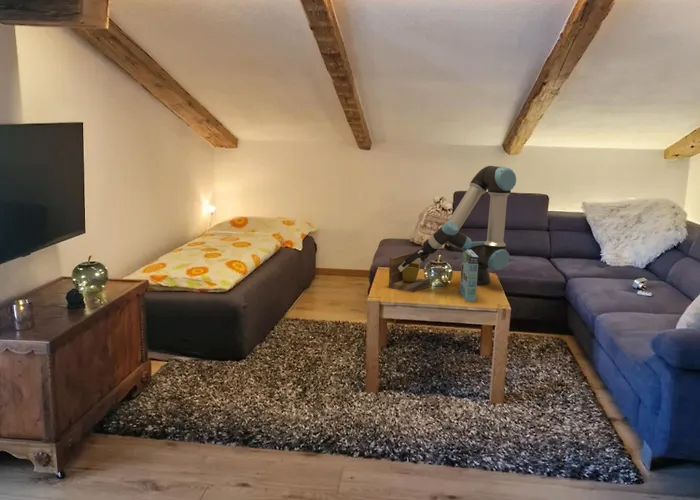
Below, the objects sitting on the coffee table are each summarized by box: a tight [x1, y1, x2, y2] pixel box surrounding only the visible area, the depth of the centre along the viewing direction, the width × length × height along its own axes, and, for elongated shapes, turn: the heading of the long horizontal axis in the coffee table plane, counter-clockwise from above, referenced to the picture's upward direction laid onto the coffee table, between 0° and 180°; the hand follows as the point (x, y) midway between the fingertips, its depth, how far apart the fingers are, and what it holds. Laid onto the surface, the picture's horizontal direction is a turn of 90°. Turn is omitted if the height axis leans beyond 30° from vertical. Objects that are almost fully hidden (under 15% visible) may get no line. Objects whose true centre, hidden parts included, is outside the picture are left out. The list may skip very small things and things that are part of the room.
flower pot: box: [402, 261, 421, 282], centre depth 328 cm, size 9×9×9 cm
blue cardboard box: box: [459, 249, 479, 303], centre depth 309 cm, size 20×5×23 cm, turn 179°
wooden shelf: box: [388, 252, 430, 293], centre depth 328 cm, size 15×20×16 cm
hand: (406, 267), depth 329 cm, fingers open, 13 cm apart
